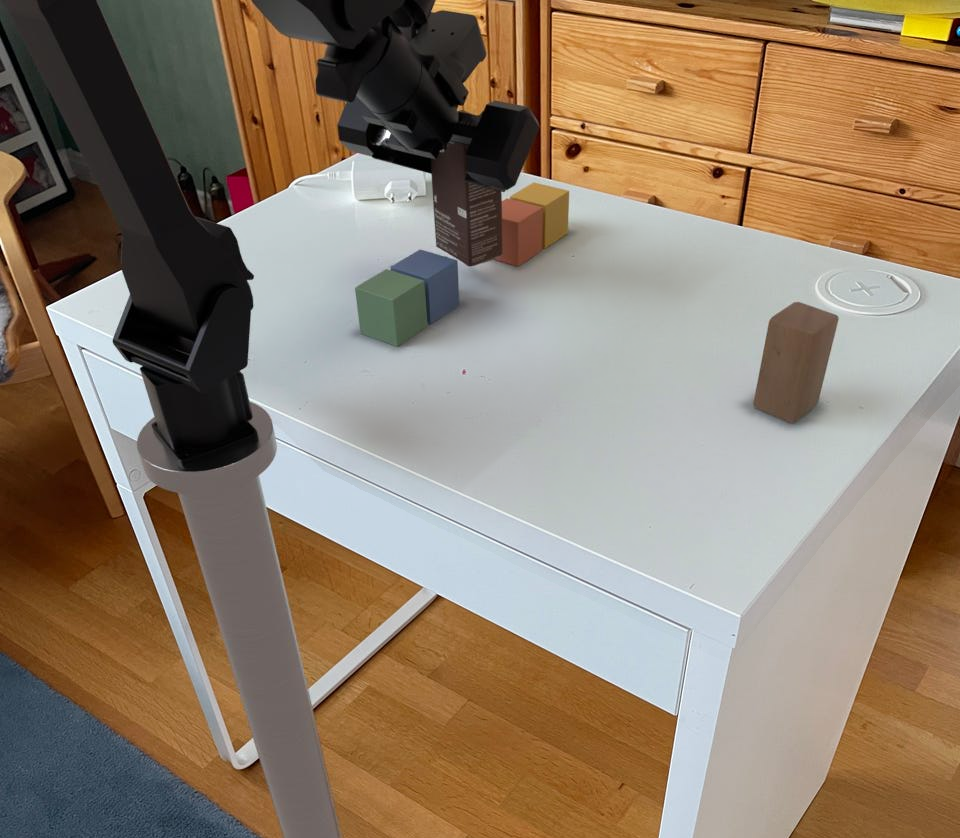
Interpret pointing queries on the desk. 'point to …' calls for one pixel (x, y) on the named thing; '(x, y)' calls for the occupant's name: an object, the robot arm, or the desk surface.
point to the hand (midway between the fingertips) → (475, 179)
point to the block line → (455, 268)
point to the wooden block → (794, 361)
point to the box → (464, 210)
